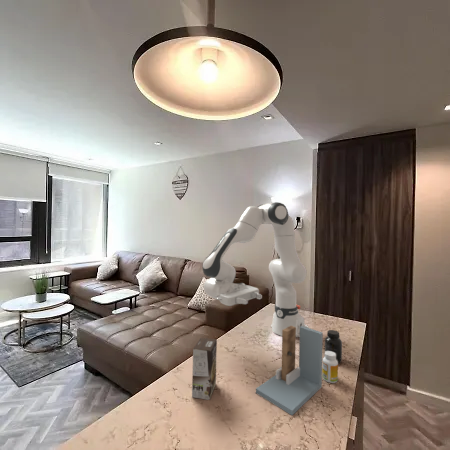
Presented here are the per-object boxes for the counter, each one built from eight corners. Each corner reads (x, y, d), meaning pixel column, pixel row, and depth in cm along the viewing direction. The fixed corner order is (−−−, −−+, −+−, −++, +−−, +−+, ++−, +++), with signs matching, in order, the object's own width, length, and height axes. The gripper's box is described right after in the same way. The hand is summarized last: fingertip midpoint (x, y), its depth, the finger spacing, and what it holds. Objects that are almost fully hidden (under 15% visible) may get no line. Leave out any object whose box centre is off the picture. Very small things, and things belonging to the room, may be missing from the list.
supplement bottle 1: (326, 354, 114) (326, 327, 114) (342, 358, 110) (343, 331, 110) (323, 360, 108) (323, 332, 108) (340, 365, 104) (341, 336, 104)
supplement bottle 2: (338, 377, 96) (338, 352, 96) (336, 385, 91) (337, 358, 91) (323, 373, 99) (324, 348, 99) (321, 380, 94) (321, 354, 94)
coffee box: (210, 400, 82) (211, 351, 82) (191, 397, 83) (192, 348, 83) (216, 383, 91) (217, 338, 91) (199, 381, 92) (200, 336, 92)
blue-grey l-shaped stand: (287, 370, 100) (288, 321, 100) (321, 387, 90) (322, 332, 90) (255, 392, 86) (256, 335, 86) (292, 415, 76) (293, 351, 76)
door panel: (290, 372, 96) (291, 325, 96) (297, 376, 94) (298, 328, 94) (281, 379, 92) (282, 329, 92) (289, 383, 89) (290, 332, 89)
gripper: (213, 290, 108) (237, 297, 98) (244, 282, 122) (268, 287, 112) (213, 305, 108) (237, 313, 98) (244, 295, 122) (268, 301, 112)
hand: (254, 299), depth 105 cm, fingers open, 8 cm apart
